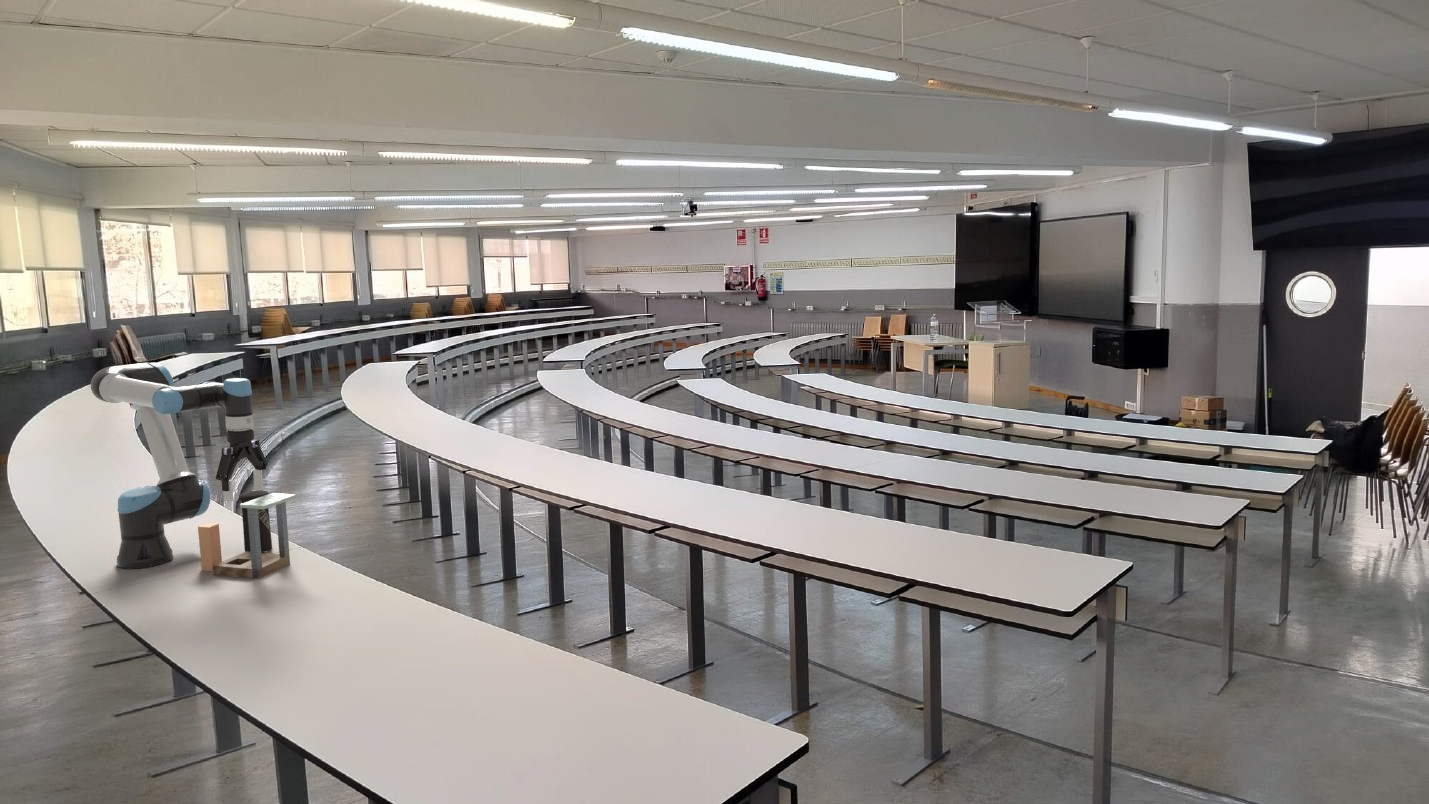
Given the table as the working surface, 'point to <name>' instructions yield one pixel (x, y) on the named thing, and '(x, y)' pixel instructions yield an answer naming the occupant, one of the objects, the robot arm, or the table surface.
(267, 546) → the container
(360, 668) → the table surface
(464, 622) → the table surface
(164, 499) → the robot arm
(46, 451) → the table surface
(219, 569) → the socket board
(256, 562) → the white topped stool
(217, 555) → the peg
